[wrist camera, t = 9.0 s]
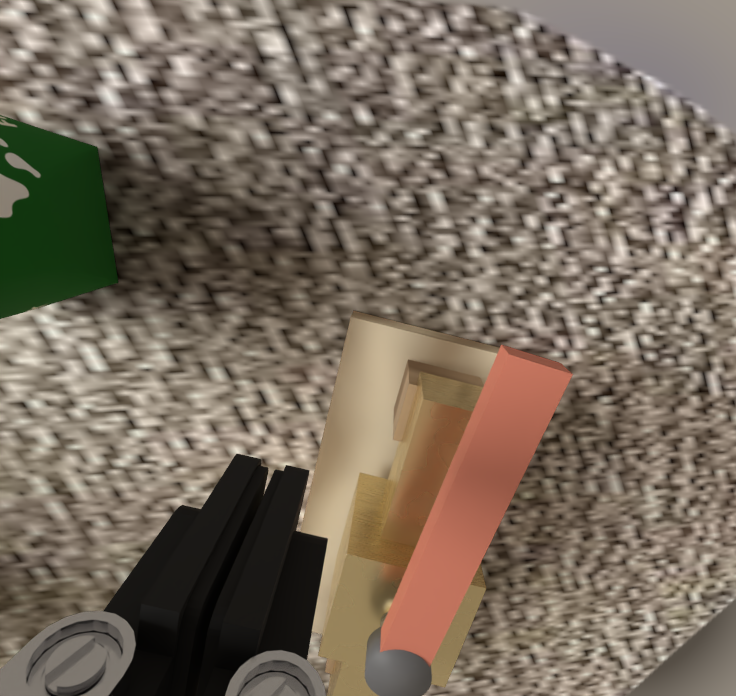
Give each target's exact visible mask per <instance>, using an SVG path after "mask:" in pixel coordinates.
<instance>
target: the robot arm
mask: <svg viewBox="0 0 736 696" xmlns="http://www.w3.org/2000/svg"><path fill="white" fill-rule="evenodd" d="M267 475H268V468H267V467H263V466H261V459H258V458H254V457H249V456H245V455H241V454H236V455H235V457H234V458H233V460H232V461H231V463H230V465H229V466H228V468H227V469H226V471H225V472H224V474H223V476H222V477H221V479H220V480H219V482H218V484H217V485H216V487H215V488H214V490H213V491H212V493H211V495H210V496H209V498H208V499H207V501H206V502H205V504H204V506H203V507H202V509H197V508H193V507H188V506H184V505H182V506H180V507H178V509H177V510H176V511H175V512H174V514H173V515H172V516H171V518H170V519H169V521H168V522H167V523H166V525H165V526H164V527H163V529H162V530H161V532H160V533H159V534H158V536H157V537H156V539H155V540H154V541H153V543H152V544H151V546H150V547H149V548H148V550H147V551H146V552H145V554H144V555H143V557H142V558H141V559H140V561H139V562H138V564H137V565H136V566H135V568H134V569H133V571H132V572H131V573H130V575H129V576H128V578H127V579H126V580H125V582H124V583H123V584H122V586H121V587H120V589H119V590H118V591H117V593H116V594H115V596H114V597H113V598H112V600H111V601H110V603H109V604H108V605H107V607H106V608H105V610H104V611H89V612H82V613H78V614H75V615H71V616H68V617H65V618H63V619H61V620H59V621H57V622H55V623H53V624H51V625H49V626H48V627H46V628H45V629H44V630H43V631H41V632H40V633H39V634H38V635H36V636H35V637H34V638H32V639H31V640H30V641H29V642H28V643H27V644H26V645H25V646H24V647H23V648H22V649H21V650H20V651H19V652H18V653H17V654H16V655H15V656H14V657H13V658H12V659H11V660H10V661H9V662H8V663H6V664H5V665H4V666H3V667H2V668H1V669H0V696H326V694H325V688H324V684H323V682H322V680H321V678H320V676H319V674H318V672H317V671H316V670H315V668H314V667H313V666H312V665H311V664H310V663H309V662H308V661H307V655H308V649H309V644H310V638H311V633H312V627H313V621H314V616H315V610H316V605H317V599H318V593H319V588H320V582H321V577H322V571H323V565H324V560H325V554H326V549H327V543H328V538H324V537H320V536H315V535H311V534H307V533H302V532H298V531H296V528H297V524H298V519H299V515H300V511H301V506H302V502H303V498H304V493H305V489H306V485H307V480H308V476H309V470H305V469H301V468H296V467H292V466H288V465H286V467H285V469H284V471H280V470H275V471H274V473H273V475H272V478H271V480H270V482H269V485H268V487H267V489H266V491H265V494H264V490H265V485H266V480H267ZM263 495H264V496H263Z"/></svg>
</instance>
